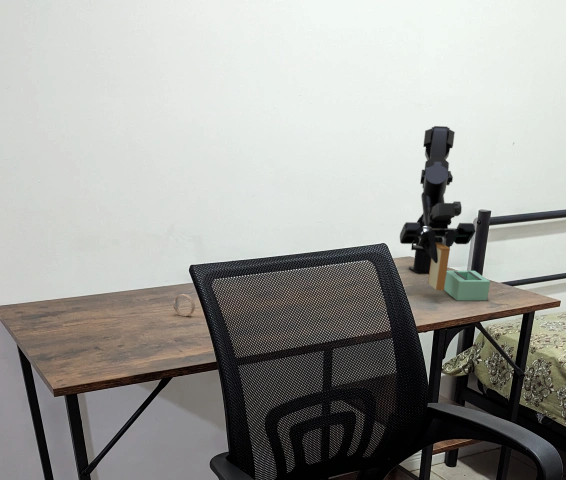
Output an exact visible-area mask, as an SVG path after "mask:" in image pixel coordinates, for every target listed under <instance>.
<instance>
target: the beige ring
mask: <svg viewBox="0 0 566 480" xmlns="http://www.w3.org/2000/svg"><path fill="white" fill-rule="evenodd" d="M179 297H185V298H187V299H188V301H189V302H190V305H191V310H190V312H189V313H188V314H186V313H183V312H182V311H181V310H180V309H179V307H180V300H179ZM172 303H173V304H172V307H173V310H174V312H176V313H177V315H179V316H181V317H189V316H191V315H192V314H193V313H194V311H195V309H196V304H195V301H194V299H193V297H191V296H190V295H189V294H187V293H181V294H179V295H177V296H176V297H175V298H174V300H173V302H172Z"/></svg>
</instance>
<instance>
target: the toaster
mask: <svg viewBox="0 0 566 480" xmlns="http://www.w3.org/2000/svg"><path fill="white" fill-rule="evenodd" d="M490 286H491V281H490V280H489V279H487V278H486V277H485V276H483V275H481V274H480V273H479V272H477V271H476V270H447V273H446V279H445V286H444V290H443V291H445V292H446V293H447V294H448V295H450V297H452V298H453V299H454V300H455V301H488V296H489V291H490Z"/></svg>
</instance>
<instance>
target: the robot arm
mask: <svg viewBox="0 0 566 480" xmlns="http://www.w3.org/2000/svg"><path fill="white" fill-rule="evenodd" d="M455 133H456V131H454V130H453V129H451V128H450V127H448V126H443V125H442V126H441V125H434V126H432V127H431V128H428V129H426V130H425V131H424V137H423V138H424V139H423V148H425V149H424V156H425V159H426V161H425V162H424V163H425V164H424V169H421V174H420V185H422V186H421V187H422V190H423V191H422V193H421V195H420V198H421V206H422V214H421V215H420V216H419V218H418V219H417V221H416V222H415V221H414V222H413V221H412V222H411V221H406V222H405V223H404V224H403V226H402V229H401V230H400V233H399V242H400V244H402V245H411V248H410V250H411V251H415V252H414V260H413V266H408V269H409V270H411V271H413V272H415V273H416V274H429V271H430V264H431V258H432V259H433V261H434V262H435V263H437V262H438V254H437V249H436V244H435V242H441V243H443V244H444V245H446V246H447V247H449V248H450V249H451V247H452V246H453V245H454V243H455V245H468V244H469V243H470V242H471V241H472V239H473V236H474V235H475V233H476V231H477V230H476V225H475V224H474V223H473V222H459V223H458V225H457V226H456V227H455V228H454V227H449V226H451V224H452V219H454V218H455V217H459V216H460V215H461V214H462V208H463V207H462V202H461V201H457V200H456V201H453V202H445V194H446V190H447V186H450V185H451V184H450V183H453V179H454V177H453V174H452V171H451V170H449V168H450V163H449V161H448V158H449V155H450V151H451V149H453V147H454V140H455Z"/></svg>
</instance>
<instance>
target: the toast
mask: <svg viewBox="0 0 566 480" xmlns="http://www.w3.org/2000/svg"><path fill="white" fill-rule="evenodd" d="M435 244H436V249H437V254H438V262H437V263H435V262H434V261H433V259H432V258H431V264H430V271H429V273H428V280H427V284H429V285H430V286H431V287H432V288H433V289H434V290H435V291H445V290H444V286H445V279H446V273H447V271H448V266H449V265H448V264H449V258H450V251H451V247H450V248H449V247H447V246H446V245H444V244H443V243H441V242H435Z"/></svg>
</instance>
